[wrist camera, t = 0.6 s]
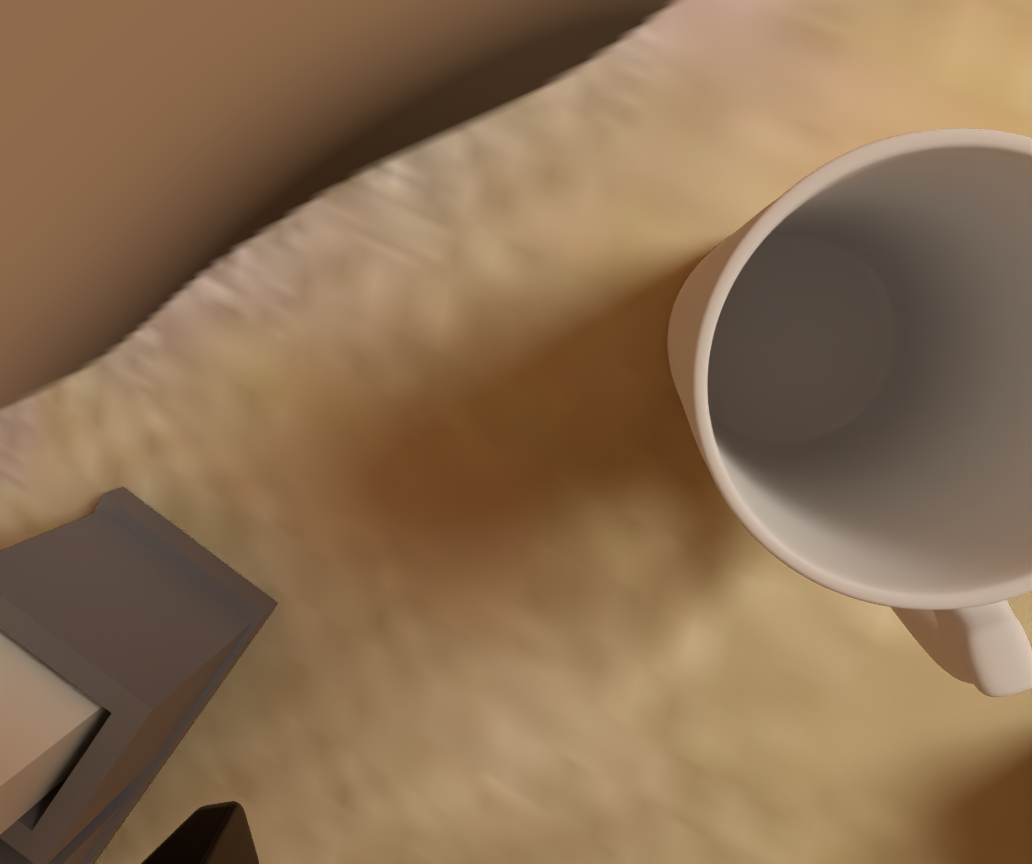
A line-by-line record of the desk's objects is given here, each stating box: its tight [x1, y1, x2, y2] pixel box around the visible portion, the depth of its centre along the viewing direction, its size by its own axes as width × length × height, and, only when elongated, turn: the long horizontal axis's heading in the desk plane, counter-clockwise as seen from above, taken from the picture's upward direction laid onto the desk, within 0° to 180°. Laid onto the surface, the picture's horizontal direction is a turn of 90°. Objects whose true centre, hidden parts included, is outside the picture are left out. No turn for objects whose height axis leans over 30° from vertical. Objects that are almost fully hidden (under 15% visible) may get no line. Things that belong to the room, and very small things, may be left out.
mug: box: [667, 128, 1032, 697], centre depth 17 cm, size 10×7×12 cm, turn 21°
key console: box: [0, 487, 278, 864], centre depth 25 cm, size 6×15×6 cm, turn 144°
